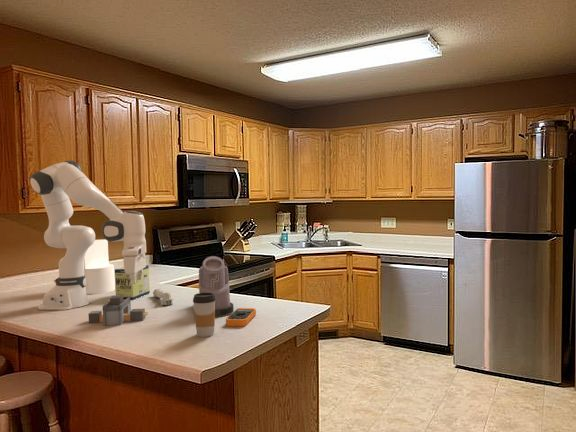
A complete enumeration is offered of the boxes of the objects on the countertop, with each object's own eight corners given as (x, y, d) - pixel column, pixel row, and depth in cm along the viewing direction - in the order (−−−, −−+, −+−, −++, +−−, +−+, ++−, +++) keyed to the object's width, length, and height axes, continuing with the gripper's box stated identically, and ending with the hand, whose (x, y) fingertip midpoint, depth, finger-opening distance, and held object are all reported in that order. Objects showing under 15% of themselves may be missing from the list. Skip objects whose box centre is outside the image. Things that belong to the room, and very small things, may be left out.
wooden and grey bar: (88, 323, 187) (88, 313, 187) (92, 320, 192) (92, 310, 192) (146, 320, 189) (145, 311, 189) (148, 317, 193) (148, 308, 193)
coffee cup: (195, 331, 171) (194, 292, 171) (217, 330, 172) (216, 291, 171) (192, 338, 163) (191, 297, 162) (216, 337, 164) (214, 296, 163)
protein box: (115, 299, 230) (113, 269, 229) (133, 292, 245) (132, 264, 244) (133, 300, 227) (131, 269, 226) (150, 293, 242) (149, 264, 241)
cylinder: (74, 293, 248) (71, 242, 247) (98, 286, 264) (96, 239, 263) (98, 294, 242) (96, 243, 240) (121, 288, 258) (119, 239, 256)
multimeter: (224, 327, 177) (223, 318, 177) (237, 315, 194) (237, 307, 194) (245, 328, 175) (245, 319, 175) (256, 315, 193) (256, 307, 193)
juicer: (236, 316, 192) (234, 259, 191) (197, 319, 188) (195, 261, 187) (228, 300, 221) (226, 250, 220) (195, 303, 217) (193, 252, 216)
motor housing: (103, 325, 183) (102, 301, 182) (114, 315, 198) (113, 293, 197) (121, 324, 183) (119, 300, 183) (131, 315, 198) (129, 292, 198)
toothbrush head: (161, 288, 236) (173, 290, 214) (162, 301, 236) (174, 304, 214) (151, 289, 234) (162, 291, 212) (152, 302, 233) (163, 305, 211)
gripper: (134, 246, 199) (135, 277, 200) (120, 252, 179) (121, 286, 180) (148, 246, 200) (150, 277, 200) (136, 251, 179) (138, 286, 180)
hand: (136, 281), depth 190 cm, fingers open, 8 cm apart
